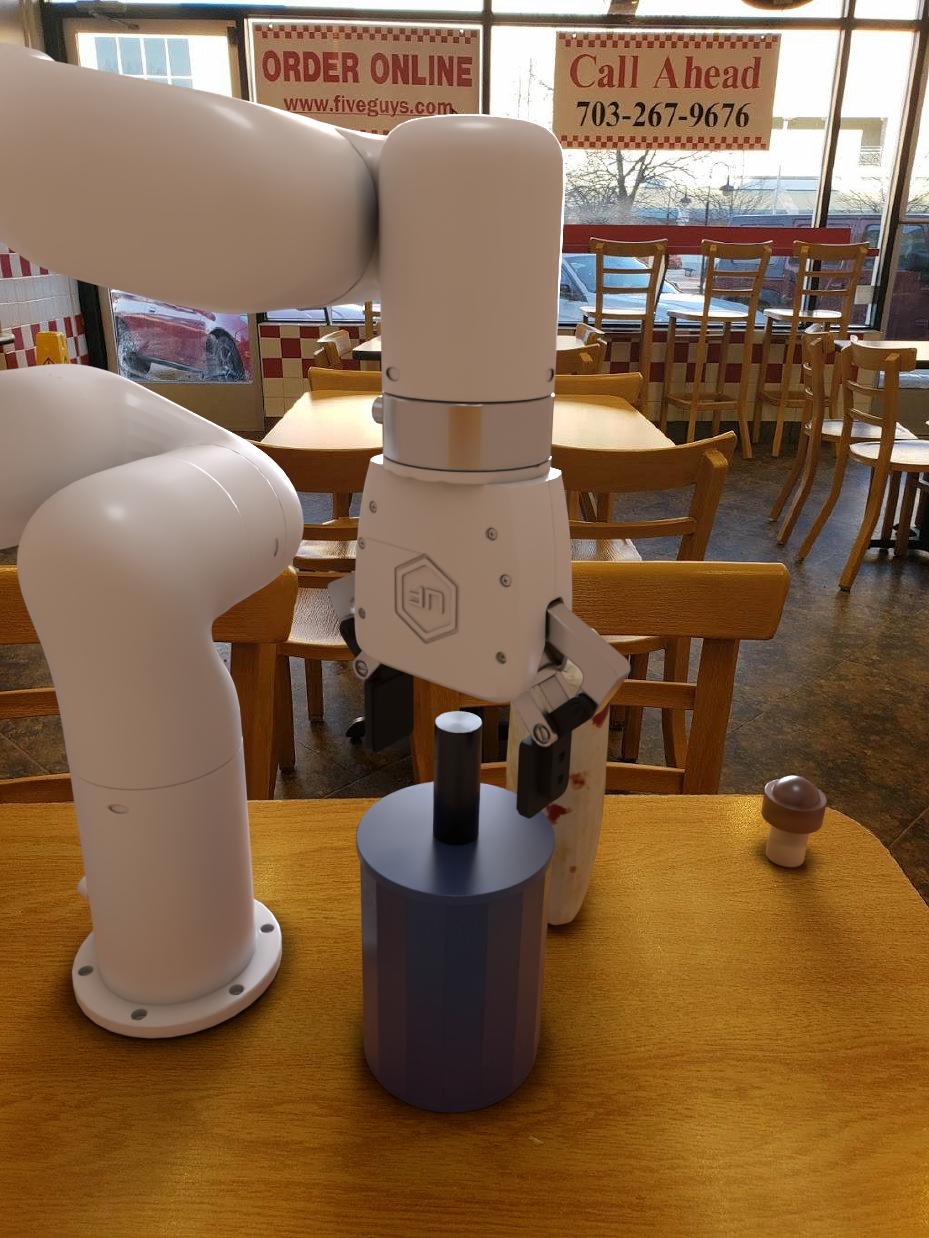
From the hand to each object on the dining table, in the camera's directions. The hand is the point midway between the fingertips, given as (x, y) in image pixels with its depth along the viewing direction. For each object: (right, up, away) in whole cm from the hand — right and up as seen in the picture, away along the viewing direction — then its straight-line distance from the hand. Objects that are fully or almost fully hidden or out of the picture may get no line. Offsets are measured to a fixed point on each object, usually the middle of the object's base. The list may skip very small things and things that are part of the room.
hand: (461, 771), depth 48 cm
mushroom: (+25, -10, +24) cm, 36 cm away
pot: (-1, -17, +7) cm, 18 cm away
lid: (0, -4, +2) cm, 4 cm away
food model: (+6, -12, +19) cm, 24 cm away
